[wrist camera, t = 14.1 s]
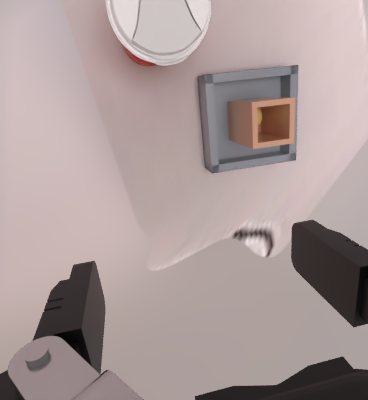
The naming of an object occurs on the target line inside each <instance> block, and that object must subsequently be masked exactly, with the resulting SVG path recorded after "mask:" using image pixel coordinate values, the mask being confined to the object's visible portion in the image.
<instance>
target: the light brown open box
mask: <svg viewBox="0 0 368 400" xmlns="http://www.w3.org/2000/svg"><path fill="white" fill-rule="evenodd" d="M257 108H259V109H260V110H261V112H262V121H261V123H260V124H259V125H258V116H257ZM227 109H228V129H229V140H230V141H233V142H236V143H238V144H241V145H244V146H246V147H249V148H251V149H257V148H264V147H271V146H278V145H285V144H292V143H294V129H295V97H270V98H255V99H246V100H238V101H229V102H227Z"/></svg>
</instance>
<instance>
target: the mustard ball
mask: <svg viewBox="0 0 368 400" xmlns="http://www.w3.org/2000/svg"><path fill="white" fill-rule="evenodd" d="M257 116H258V125H259V124H260V123H261V121H262V112H261V110H260V109H259V108H257Z"/></svg>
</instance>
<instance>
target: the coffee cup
mask: <svg viewBox="0 0 368 400" xmlns="http://www.w3.org/2000/svg"><path fill="white" fill-rule="evenodd" d="M106 8H107V14H108V17H109V21H110V24H111V26H112V28H113V31H114V32H115V34H116V36H117V37H118V39H119V40H120V41H121V43H122V45H123V48H124V50H125V51H126V53H127V54H128V56H129V57H130V58H131V59H132V60H134V61H135V62H137V63H139V64H141V65H146V66H152V65H156V64H158V65H160V66H167V65H173V64H177V63H179V62H181V61H184V60H185V59H186V58H187V57H188V56H189V55H190V54H191V53H192V52H193V51H194V50H195V49H196V48H197V47H198V46H199V44H200V43H201V42H202V40H203V38H204V36H205V34H206V32H207V29H208V26H209V22H210V17H211V0H106Z"/></svg>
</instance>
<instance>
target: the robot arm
mask: <svg viewBox="0 0 368 400" xmlns="http://www.w3.org/2000/svg"><path fill="white" fill-rule="evenodd" d="M291 251H292V253H291V258H292V263H293V266H294V268H295V270H296V271H297V272H298V273H299V274H300V275H301V276H302V277H303V278H304V279H305V280H306V281H307V282H308V283H309V284H310V285H311V286H312V287H313V288H315V290H316V291H317V292H318V293H319V294H320V295H321V296H322V297H324V299H325V300H326V301H327V302H328V303H329V304H330V305H332V307H334V309H336V310H337V311H338V312H339V313H340V314H341V315H342V316H343V317H344V318H345V319H346V320H347V321H348V322H349V323H350V324H351V325H352V326H353V327H357V326H361V325H364V324H368V250H367V249H366V248H364V247H362V246H359V244H357V243H356V242H354V241H351V240H350V239H349V238H348V237H346V236H344V235H343V234H341V233H339V232H335V231H332V230H329V229H327V228H325V227H324V226H322V225H321V224H319V223H317V222H316V221H314V220H308V221H303V222H298V223H294V224H293V226H292V250H291ZM104 322H105V301H104V295H103V291H102V287H101V283H100V278H99V274H98V270H97V266H96V263H95V261H91V262H86V263H81V264H76V265H73V268H72V272H71V275H70V278H69V279H68V280H63V281H60V282H59V283H58V284H57V285H56V286H55V287H54V288H53V289H52V290H51V292H50V295H49V298H48V301H47V303H46V306H45V309H44V312H43V314H42V317H41V319H40V322H39V325H38V328H37V331H36V333H35V336H34V339H33V341H32V342H30V343H28V344H27V345H25V346H24V347H23V348H21V349H20V350H19V351H18V352H17V353H16V354H15V355H14V357H13V358H12V359H11V361H10V364H9V366H8V370H7V371H5V372H3V373H1V374H0V400H144V399H142V398H141V397H140V396H139V395H138V394H137V393H136V392H135V391H134V390H132V389H131V388H130V387H129V386H128V385H127V384H126V383H125V382H124V381H122V380H121V379H120V378H119V377H118V376H117V375H116V374H115V373H113V372H112V371H109V370H106V371H105V372H103V373H102V374H101V375H100V373H101V359H102V348H103V335H104ZM195 400H368V370H363V369H353V368H352V367H351V366H350V364H349V363H348V362H347V361H346V360H345V359H344V357H340V358H335V359H332V360H328V361H324V362H321V363H317V364H313V365H310V366H307V367H306V368H304V369H303V370H301V371H299V372H298V373H296V374H295V375H293V376H291V377H290V378H288V379H286V380H285V381H283V382H282V383H280V384H278V385H271V386H270V385H269V386H232V387H228V388H225V389H221V390H217V391H213V392H210V393H206V394H203V395H199V396H195Z"/></svg>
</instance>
